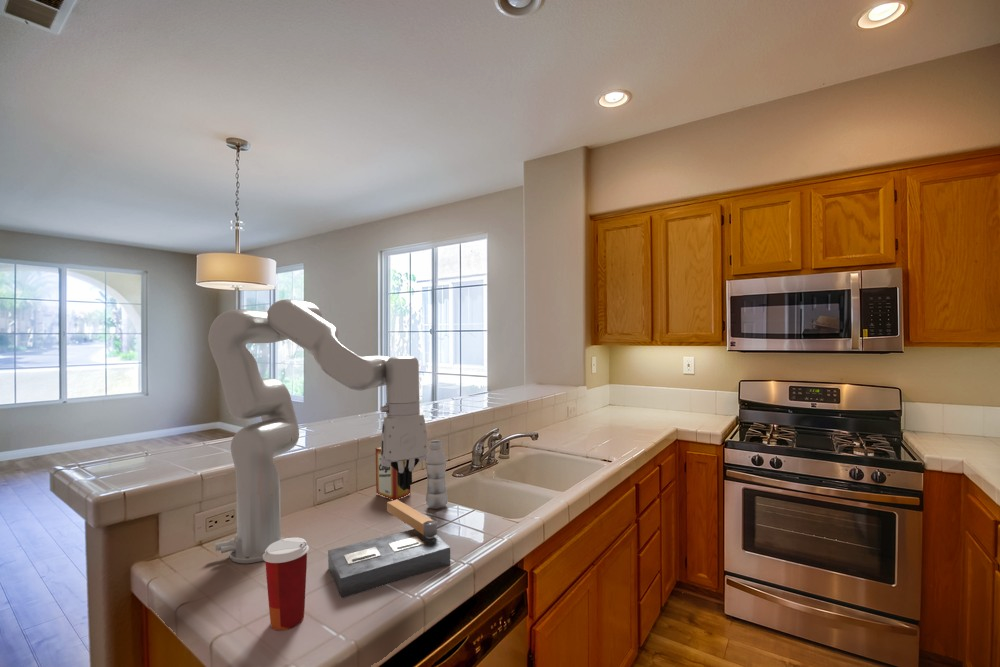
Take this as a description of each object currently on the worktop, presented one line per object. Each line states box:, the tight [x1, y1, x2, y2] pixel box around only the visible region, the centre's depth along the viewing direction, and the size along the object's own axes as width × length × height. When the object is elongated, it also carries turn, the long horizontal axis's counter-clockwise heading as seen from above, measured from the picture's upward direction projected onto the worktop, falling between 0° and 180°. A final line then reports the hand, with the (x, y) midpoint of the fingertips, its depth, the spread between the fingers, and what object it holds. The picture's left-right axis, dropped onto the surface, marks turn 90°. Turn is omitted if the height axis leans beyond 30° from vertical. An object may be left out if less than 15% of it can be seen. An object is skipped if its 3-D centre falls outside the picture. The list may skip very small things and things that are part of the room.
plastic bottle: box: [424, 440, 449, 510], centre depth 137 cm, size 6×7×20 cm
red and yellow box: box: [375, 446, 411, 500], centre depth 148 cm, size 10×6×16 cm
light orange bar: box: [386, 499, 438, 537], centre depth 114 cm, size 22×3×2 cm, turn 40°
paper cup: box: [263, 537, 310, 632], centre depth 83 cm, size 8×8×14 cm
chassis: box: [327, 528, 451, 599], centre depth 102 cm, size 24×14×5 cm, turn 121°
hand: (404, 487), depth 104 cm, fingers closed
